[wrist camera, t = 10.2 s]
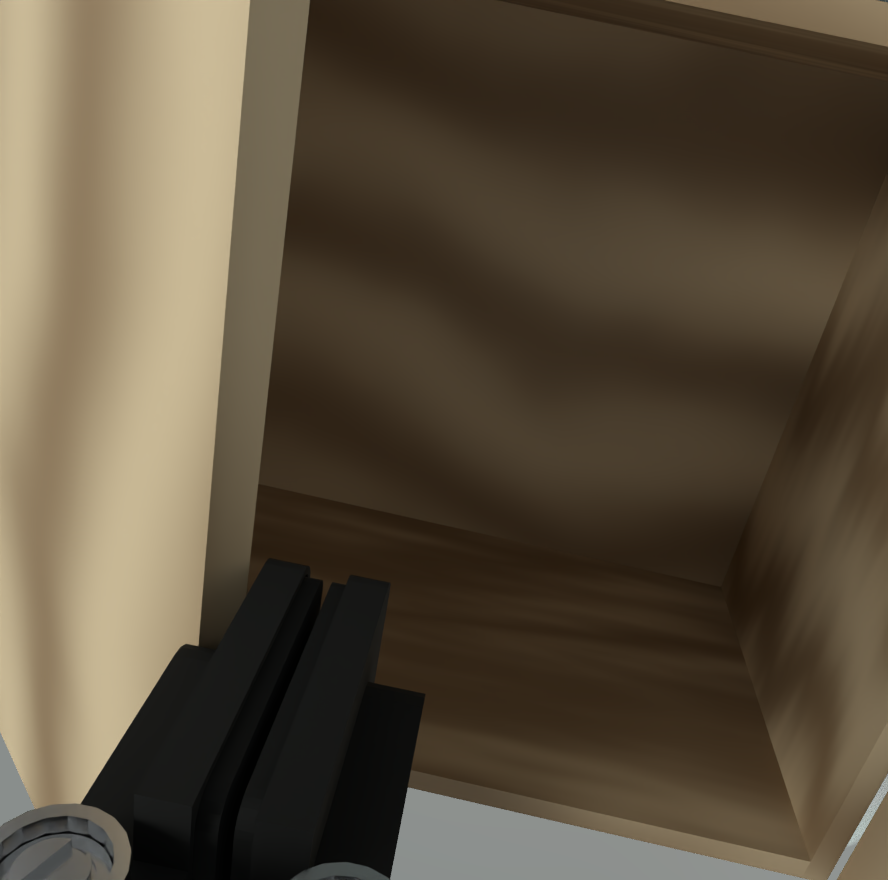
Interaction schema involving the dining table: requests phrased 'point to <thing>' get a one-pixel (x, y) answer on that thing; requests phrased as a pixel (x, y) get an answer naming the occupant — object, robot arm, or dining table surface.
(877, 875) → the flap
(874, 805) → the dining table surface
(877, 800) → the dining table surface
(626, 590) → the carton
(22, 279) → the flap
